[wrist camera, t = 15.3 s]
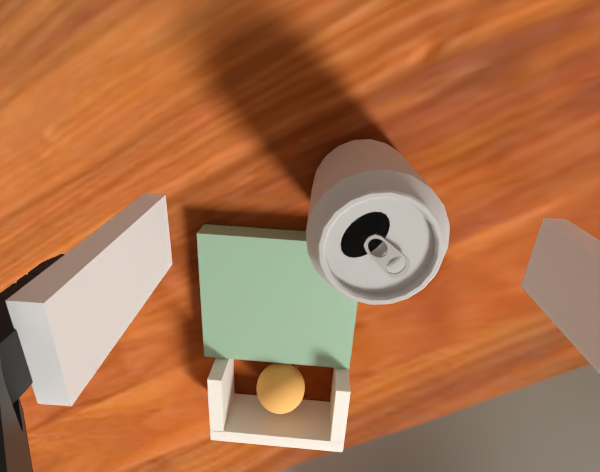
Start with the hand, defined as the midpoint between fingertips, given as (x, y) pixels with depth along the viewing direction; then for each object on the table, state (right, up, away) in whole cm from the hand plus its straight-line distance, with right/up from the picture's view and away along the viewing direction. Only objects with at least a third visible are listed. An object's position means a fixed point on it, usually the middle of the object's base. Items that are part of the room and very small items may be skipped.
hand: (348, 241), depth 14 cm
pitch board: (-3, -5, +20) cm, 21 cm away
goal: (-3, -14, +24) cm, 28 cm away
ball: (-4, -14, +22) cm, 26 cm away
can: (+3, +4, +16) cm, 17 cm away
